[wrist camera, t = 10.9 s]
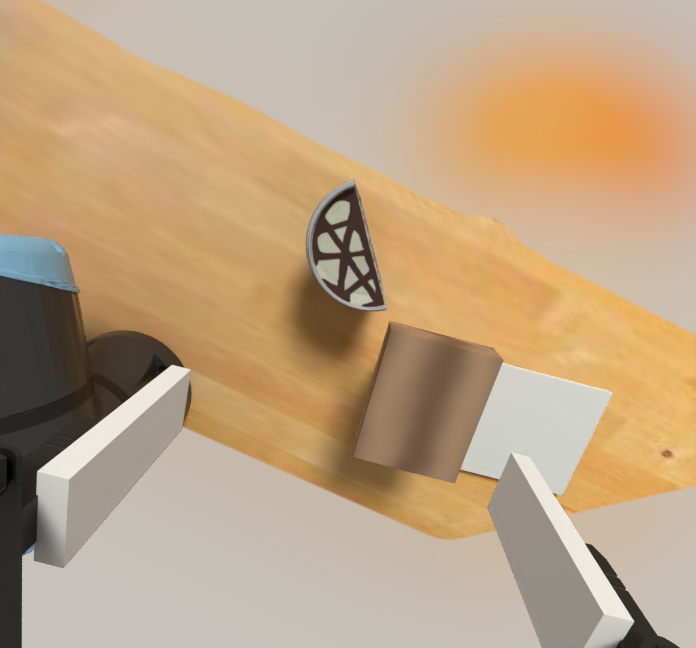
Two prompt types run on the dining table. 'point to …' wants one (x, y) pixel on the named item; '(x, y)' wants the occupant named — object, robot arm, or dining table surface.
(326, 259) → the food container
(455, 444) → the walnut board
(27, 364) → the robot arm
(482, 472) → the rubber mat
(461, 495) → the dining table surface
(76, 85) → the dining table surface
